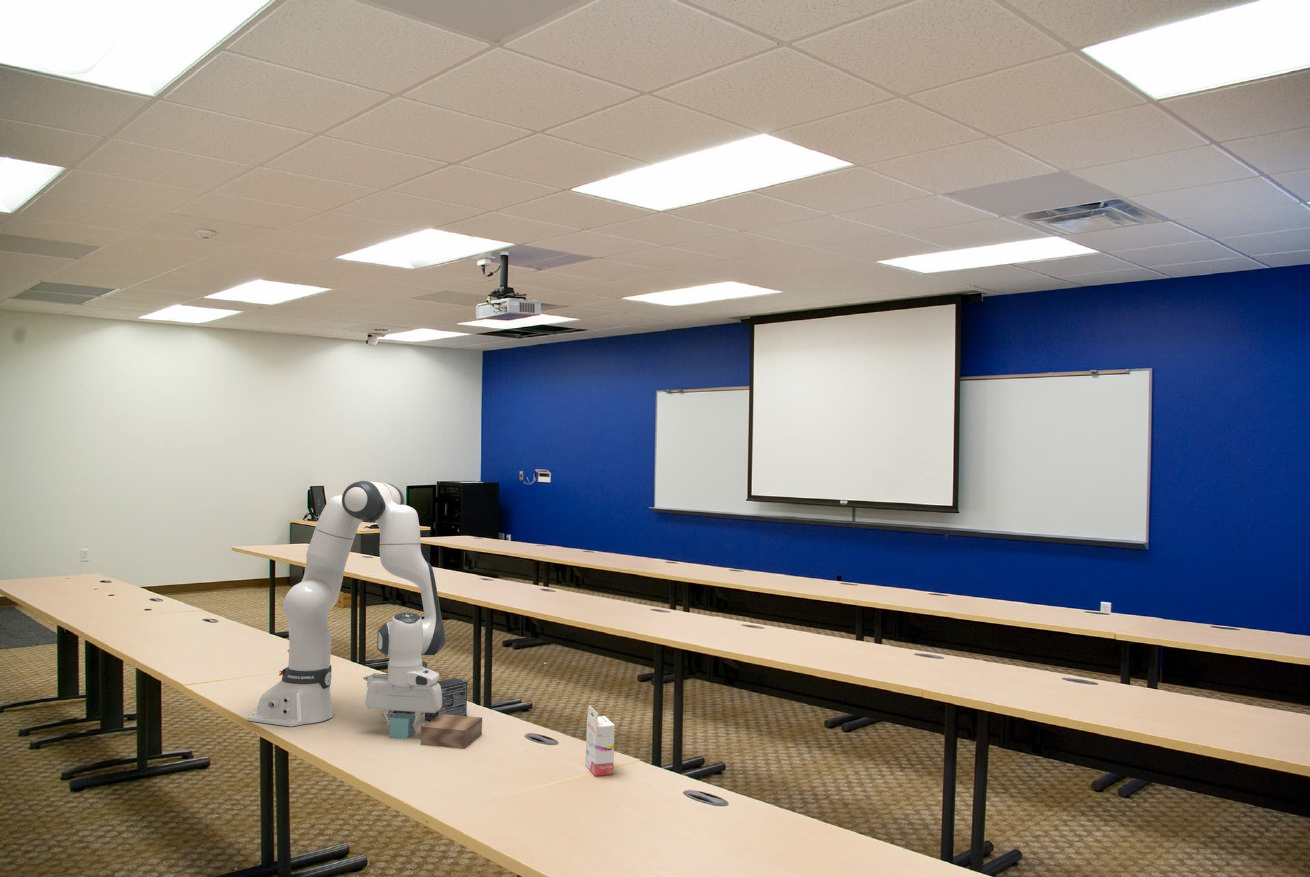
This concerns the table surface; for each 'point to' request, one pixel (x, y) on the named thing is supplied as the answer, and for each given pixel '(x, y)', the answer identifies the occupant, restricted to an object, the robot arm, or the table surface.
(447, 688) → the small box
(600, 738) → the ink cartridge box
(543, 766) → the table surface
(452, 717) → the walnut base block
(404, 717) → the teal cube
